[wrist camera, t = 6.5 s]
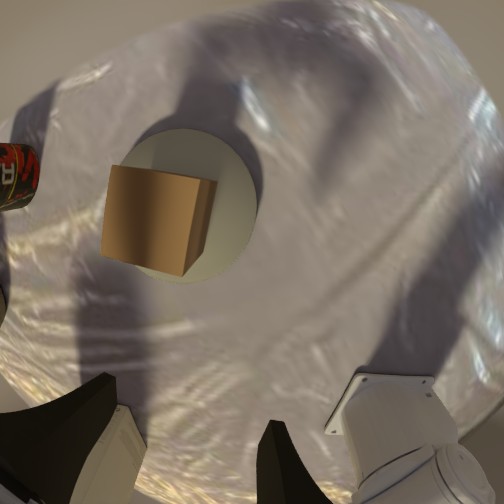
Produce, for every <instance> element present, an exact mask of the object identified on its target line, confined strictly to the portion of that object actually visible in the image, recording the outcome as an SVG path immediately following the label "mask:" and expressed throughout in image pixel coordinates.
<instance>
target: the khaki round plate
mask: <svg viewBox="0 0 504 504" xmlns="http://www.w3.org/2000/svg"><path fill="white" fill-rule="evenodd" d="M120 166H129V167H138V168H147V169H154V170H160V171H166V172H172V173H177V174H183V175H188V176H193V177H199V178H204V179H209V180H214V181H218V184H217V188H216V193H215V197H214V202H213V207H212V211H211V216H210V221H209V226H208V231H207V236H206V241H205V246H204V252H203V253H202V255H201V256H200V257H199V258H198V259H197V260H196V262H195V263H194V264H193V265H192V266H191V267H190V269H189V270H188V271H187V272H186V273H185V275H184V276H183V277H179V276H175V275H171V274H167V273H163V272H159V271H156V270H152V269H148V268H144V267H141V266H137V265H135V266H136V267H137V268H139V269H140V270H141V271H143V272H144V273H146V274H148V275H149V276H151V277H154V278H156V279H158V280H161V281H165V282H169V283H176V284H189V283H196V282H200V281H204V280H207V279H209V278H212V277H214V276H216V275H218V274H219V273H221V272H223V271H224V270H225V269H227V268H228V267H229V266H230V265H231V264H232V263H233V262H234V261H235V260H236V259H237V258H238V257H239V256H240V254H241V253H242V251H243V250H244V249H245V247H246V245H247V243H248V241H249V239H250V236H251V234H252V231H253V228H254V223H255V219H256V212H257V196H256V190H255V186H254V182H253V179H252V177H251V174H250V172H249V170H248V168H247V167H246V165H245V164H244V162H243V160H242V159H241V158H240V157H239V156H238V154H237V153H236V152H235V151H234V150H233V149H232V148H231V147H230V146H229V145H227V144H226V143H225V142H223V141H222V140H220V139H219V138H217V137H215V136H213V135H211V134H209V133H206V132H202V131H199V130H193V129H172V130H167V131H163V132H159V133H157V134H155V135H152V136H150V137H148V138H147V139H145V140H143V141H142V142H140V143H139V144H138V145H137V146H135V147H134V148H133V149H132V150H131V151H130V152H129V153H128V154H127V156H126V157H125V158H124V160H123V161H122V162H121V164H120Z"/></svg>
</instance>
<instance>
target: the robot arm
mask: <svg viewBox="0 0 504 504" xmlns="http://www.w3.org/2000/svg"><path fill="white" fill-rule="evenodd" d="M364 378H365V379H364ZM362 379H364V380H362ZM434 381H435V379H434V378H433V377H432V376H398V375H381V374H368V373H358V374H356V375H355V376H354V377H353V379H352V381H351V383H350V385H349V387H348V389H347V390H346V392H345V394H344V396H343V398H342V400H341V401H340V403H339V405H338V407H337V408H336V410H335V412H334V414H333V415H332V417H331V419H330V420H329V422H328V424H327V425H326V427H325V429H324V433H325V434H328V435H344V438H345V442H346V445H347V449H348V453H349V456H350V460H351V464H352V468H353V471H354V475H355V479H356V483H357V487H358V491H357V492H356V493H355V494H353V495H352V496H351V497H352V502H353V504H495V493H494V491H493V489H492V488H491V486H490V485H489V483H488V481H487V479H486V476H485V474H484V472H483V470H482V468H481V466H480V465H479V463H478V462H477V460H476V459H475V458H474V457H473V456H472V454H471V453H470V452H469V451H468V450H466V448H464V447H463V446H461V445H459V444H457V443H458V429H457V425H456V423H455V421H454V419H453V418H452V416H451V415H450V413H449V412H448V410H447V409H446V407H445V406H444V405H443V403H442V402H441V400H440V399H439V397H438V396H437V395H436V393H435V392H434V390H433V389H432V388H431V386H432V385H433V383H434ZM116 408H117V392H116V377H115V376H112V375H110V374H108V373H105V372H104V373H102V374H100V375H99V376H97V377H95V378H94V379H92V380H90V381H89V382H87V383H86V384H84V385H82V386H80V387H79V388H77V389H75V390H73V391H72V392H70V393H68V394H66V395H64V396H62V397H60V398H57V399H55V400H53V401H51V402H48V403H46V404H43V405H40V406H37V407H33V408H30V409H25V410H21V411H16V412H9V413H0V504H69V503H70V500H71V497H72V494H73V491H74V488H75V485H76V483H77V480H78V478H79V475H80V473H81V470H82V468H83V466H84V464H85V461H86V459H87V457H88V455H89V454H90V452H91V450H92V449H93V447H94V446H95V444H96V443H97V441H98V439H99V438H100V436H101V435H102V433H103V432H104V430H105V429H106V427H107V426H108V424H109V422H110V421H111V418H112V416H113V414H114V412H115V410H116ZM256 474H257V504H333V503H332V502H331V501H330V500H329V499H328V498H327V497H326V496H325V494H324V493H323V492H322V491H321V490H320V488H319V487H318V486H317V484H316V483H315V482H314V480H313V479H312V477H311V476H310V474H309V473H308V471H307V469H306V468H305V466H304V464H303V463H302V461H301V459H300V457H299V455H298V453H297V451H296V449H295V447H294V445H293V443H292V440H291V438H290V436H289V433H288V431H287V428H286V425H285V423H284V422H283V421H276V420H270V421H269V423H268V425H267V428H266V430H265V432H264V434H263V436H262V438H261V440H260V442H259V444H258V452H257V461H256Z"/></svg>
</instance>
